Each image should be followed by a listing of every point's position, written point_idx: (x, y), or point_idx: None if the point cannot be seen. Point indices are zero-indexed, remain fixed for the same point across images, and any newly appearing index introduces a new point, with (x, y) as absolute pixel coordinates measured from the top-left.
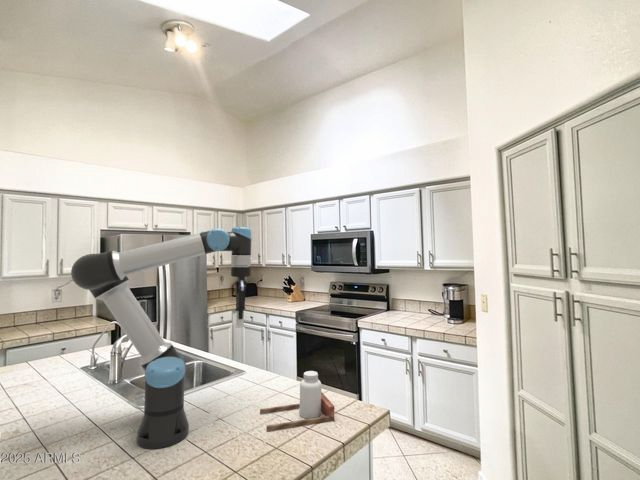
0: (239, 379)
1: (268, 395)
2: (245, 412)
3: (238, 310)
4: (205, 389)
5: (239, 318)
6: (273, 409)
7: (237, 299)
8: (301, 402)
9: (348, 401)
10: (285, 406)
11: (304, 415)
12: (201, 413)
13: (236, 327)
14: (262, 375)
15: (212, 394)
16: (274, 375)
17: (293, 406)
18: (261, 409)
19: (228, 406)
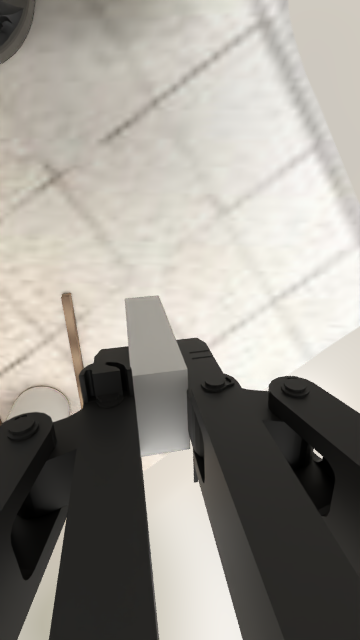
0: (332, 247)
1: (183, 323)
2: (84, 254)
3: (93, 403)
4: (293, 129)
5: (97, 360)
6: (67, 330)
7: (237, 523)
8: (20, 409)
9: None
10: (74, 361)
11: (18, 397)
12: (103, 115)
13: (131, 298)
14: (334, 317)
15: (243, 154)
16: (319, 349)
17: (76, 379)
18: (65, 300)
19: (136, 206)
